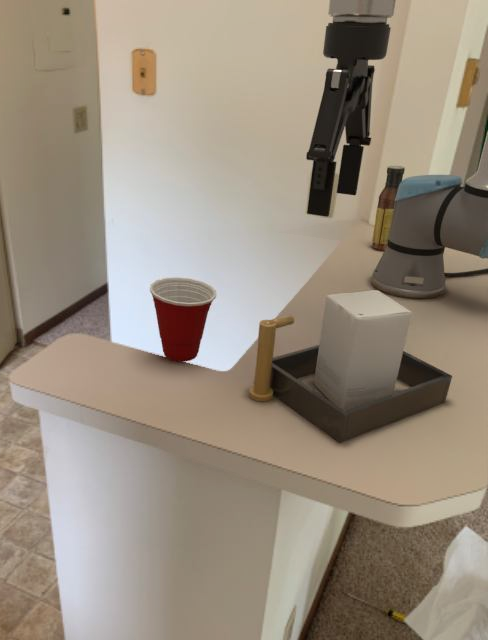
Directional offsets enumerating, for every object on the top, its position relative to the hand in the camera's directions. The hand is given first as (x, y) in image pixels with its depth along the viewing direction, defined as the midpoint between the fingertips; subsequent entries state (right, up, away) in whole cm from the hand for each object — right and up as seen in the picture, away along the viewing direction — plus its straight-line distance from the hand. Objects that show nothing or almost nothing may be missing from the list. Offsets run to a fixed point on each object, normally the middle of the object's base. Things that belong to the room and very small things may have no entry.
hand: (332, 203), depth 83 cm
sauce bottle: (+30, +12, +74) cm, 81 cm away
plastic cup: (-21, -19, +20) cm, 35 cm away
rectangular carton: (+5, -26, +10) cm, 29 cm away
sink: (+4, -26, +9) cm, 28 cm away
